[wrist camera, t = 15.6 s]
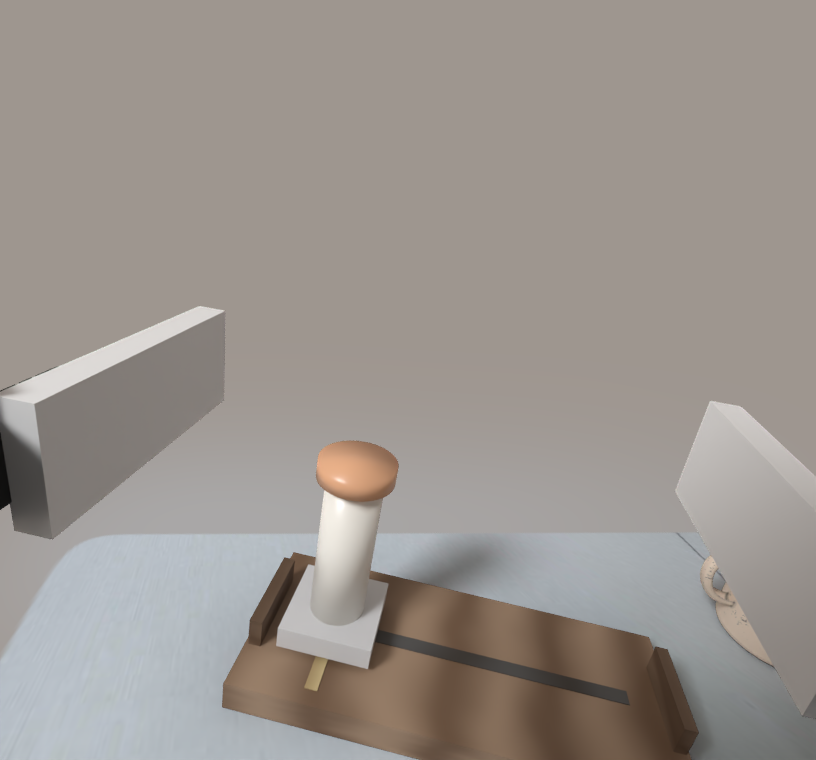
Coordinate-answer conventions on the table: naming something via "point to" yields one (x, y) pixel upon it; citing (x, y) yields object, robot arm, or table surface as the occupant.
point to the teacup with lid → (731, 613)
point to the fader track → (468, 681)
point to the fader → (343, 558)
